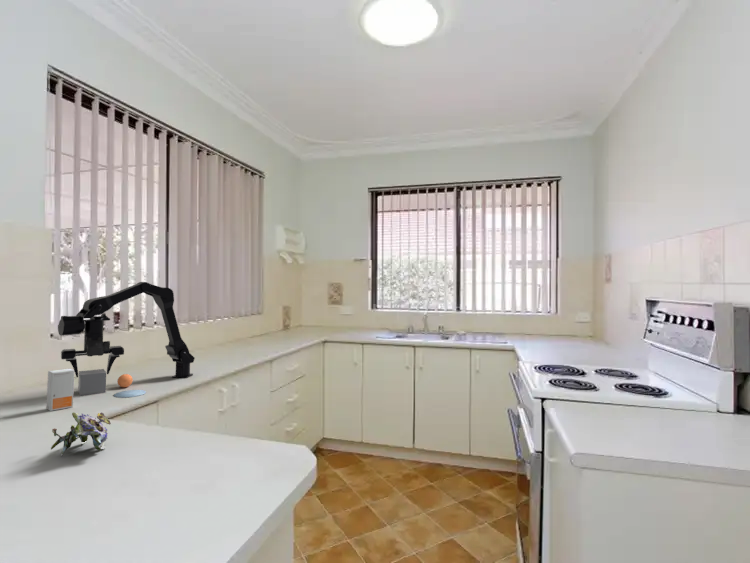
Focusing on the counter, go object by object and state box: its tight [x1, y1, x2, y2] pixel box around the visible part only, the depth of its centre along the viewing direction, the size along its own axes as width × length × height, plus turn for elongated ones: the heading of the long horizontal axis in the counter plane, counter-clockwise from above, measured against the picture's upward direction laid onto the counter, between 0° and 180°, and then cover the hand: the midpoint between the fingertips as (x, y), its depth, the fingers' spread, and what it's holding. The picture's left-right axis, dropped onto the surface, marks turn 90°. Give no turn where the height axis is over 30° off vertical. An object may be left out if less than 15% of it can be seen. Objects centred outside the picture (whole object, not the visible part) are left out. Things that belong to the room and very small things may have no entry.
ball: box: [117, 373, 134, 388], centre depth 157 cm, size 5×5×5 cm
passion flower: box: [50, 412, 112, 455], centre depth 96 cm, size 11×11×12 cm
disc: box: [113, 389, 147, 399], centre depth 147 cm, size 10×10×1 cm
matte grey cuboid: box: [77, 368, 107, 397], centre depth 149 cm, size 8×8×7 cm
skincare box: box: [45, 368, 75, 412], centre depth 129 cm, size 6×4×12 cm
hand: (92, 375), depth 149 cm, fingers open, 9 cm apart
